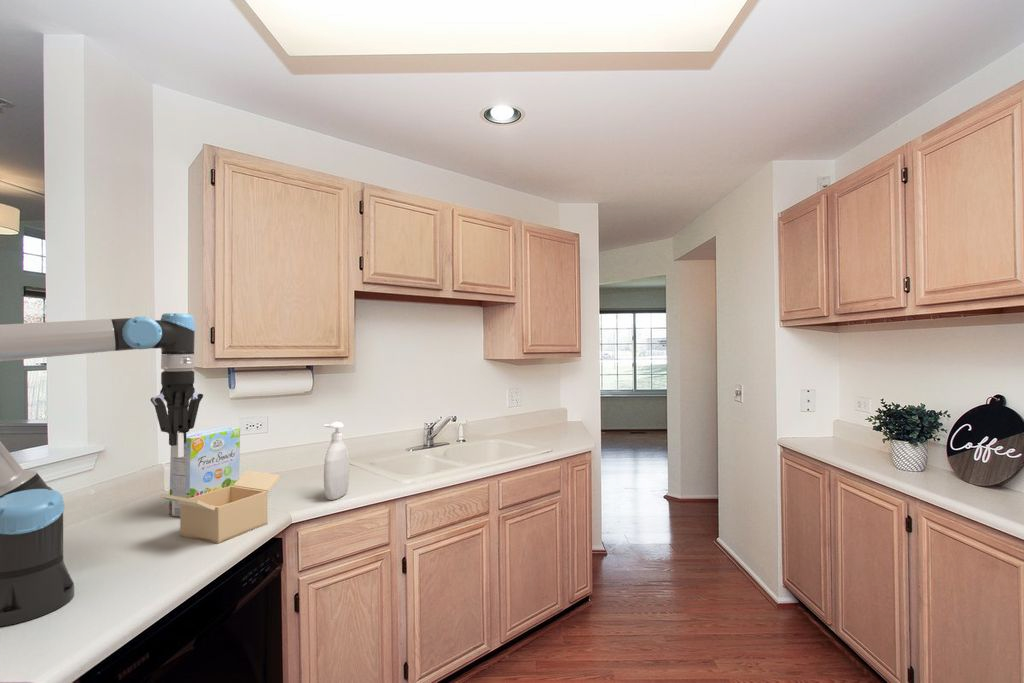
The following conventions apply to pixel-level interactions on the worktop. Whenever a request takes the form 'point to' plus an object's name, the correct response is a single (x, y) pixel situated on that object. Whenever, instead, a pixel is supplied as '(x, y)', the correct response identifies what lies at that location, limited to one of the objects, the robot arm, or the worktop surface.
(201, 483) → the snack box
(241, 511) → the carton
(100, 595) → the worktop surface
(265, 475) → the flap
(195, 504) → the flap
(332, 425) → the soap bottle
